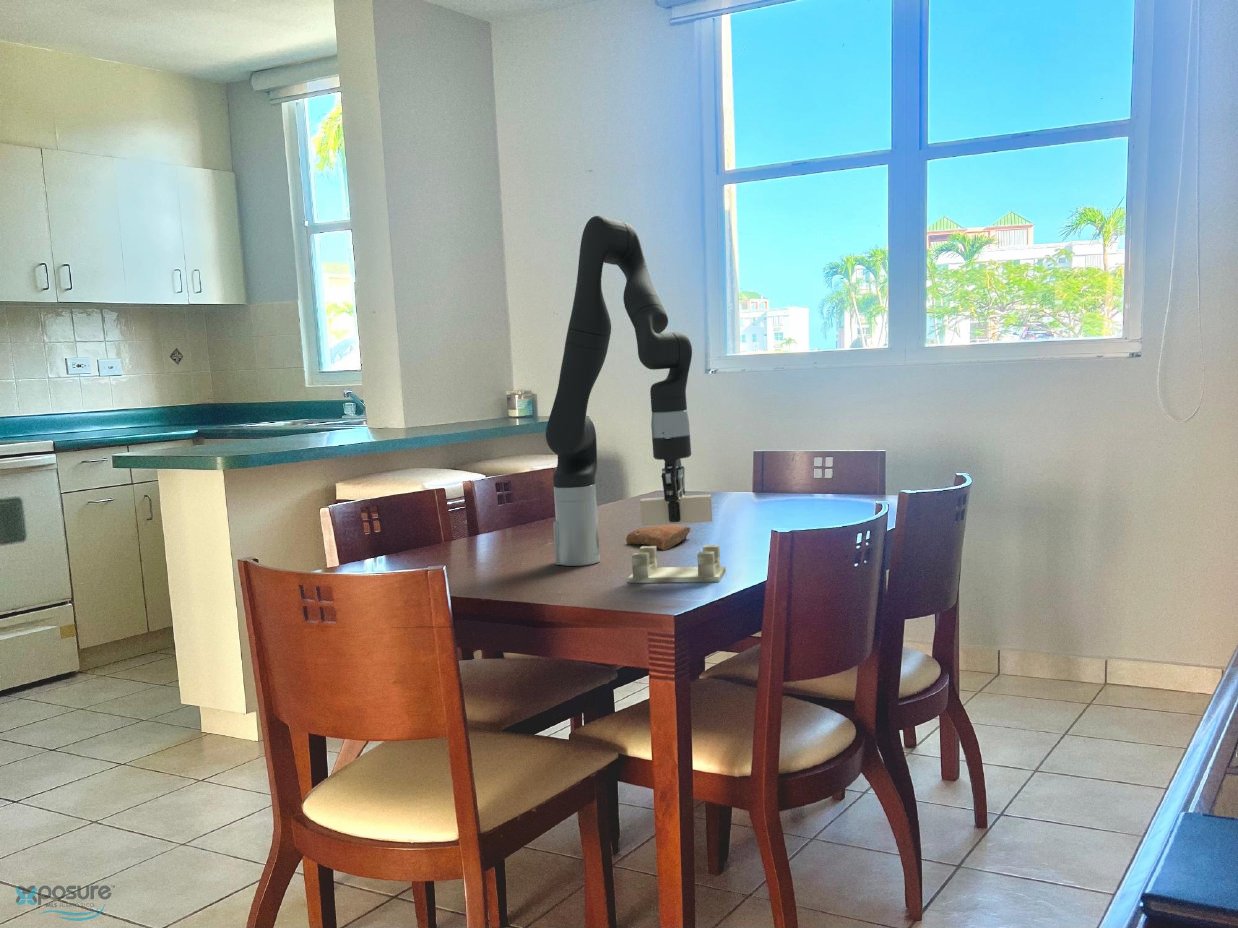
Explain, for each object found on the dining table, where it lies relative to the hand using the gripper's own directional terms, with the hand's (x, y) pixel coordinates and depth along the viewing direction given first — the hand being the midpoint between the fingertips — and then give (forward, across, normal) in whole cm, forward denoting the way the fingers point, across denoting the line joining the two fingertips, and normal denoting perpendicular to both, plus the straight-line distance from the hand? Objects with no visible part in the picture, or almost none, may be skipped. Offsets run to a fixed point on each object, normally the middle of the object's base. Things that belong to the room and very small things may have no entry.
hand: (676, 519), depth 204 cm
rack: (+12, 0, 0) cm, 12 cm away
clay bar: (+1, 0, 0) cm, 1 cm away
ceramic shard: (+12, -40, -9) cm, 43 cm away
